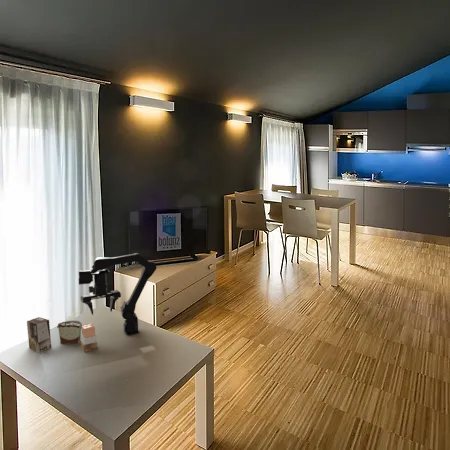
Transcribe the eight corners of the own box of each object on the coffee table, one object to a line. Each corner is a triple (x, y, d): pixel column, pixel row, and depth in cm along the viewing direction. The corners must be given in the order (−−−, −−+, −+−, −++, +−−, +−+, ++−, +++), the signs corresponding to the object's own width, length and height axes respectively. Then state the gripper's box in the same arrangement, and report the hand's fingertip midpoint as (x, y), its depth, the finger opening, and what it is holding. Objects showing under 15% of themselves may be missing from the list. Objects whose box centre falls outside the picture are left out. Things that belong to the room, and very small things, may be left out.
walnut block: (94, 345, 181) (93, 338, 181) (97, 349, 176) (96, 342, 176) (81, 348, 178) (80, 341, 178) (83, 352, 173) (83, 345, 173)
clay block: (92, 332, 180) (92, 323, 180) (95, 336, 176) (94, 326, 175) (81, 335, 177) (81, 325, 177) (84, 338, 173) (83, 328, 173)
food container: (87, 340, 188) (87, 320, 187) (81, 344, 182) (80, 324, 181) (64, 339, 189) (63, 319, 189) (57, 343, 183) (56, 323, 182)
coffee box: (52, 352, 179) (49, 319, 177) (39, 357, 174) (36, 324, 172) (42, 348, 184) (39, 316, 183) (29, 353, 179) (26, 320, 177)
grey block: (93, 338, 181) (93, 332, 180) (96, 342, 176) (96, 335, 176) (81, 341, 178) (81, 335, 177) (84, 344, 173) (84, 338, 173)
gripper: (114, 277, 200) (115, 306, 201) (77, 282, 190) (78, 312, 191) (120, 281, 191) (121, 311, 192) (82, 286, 181) (83, 318, 182)
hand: (101, 313), depth 190 cm, fingers open, 9 cm apart
